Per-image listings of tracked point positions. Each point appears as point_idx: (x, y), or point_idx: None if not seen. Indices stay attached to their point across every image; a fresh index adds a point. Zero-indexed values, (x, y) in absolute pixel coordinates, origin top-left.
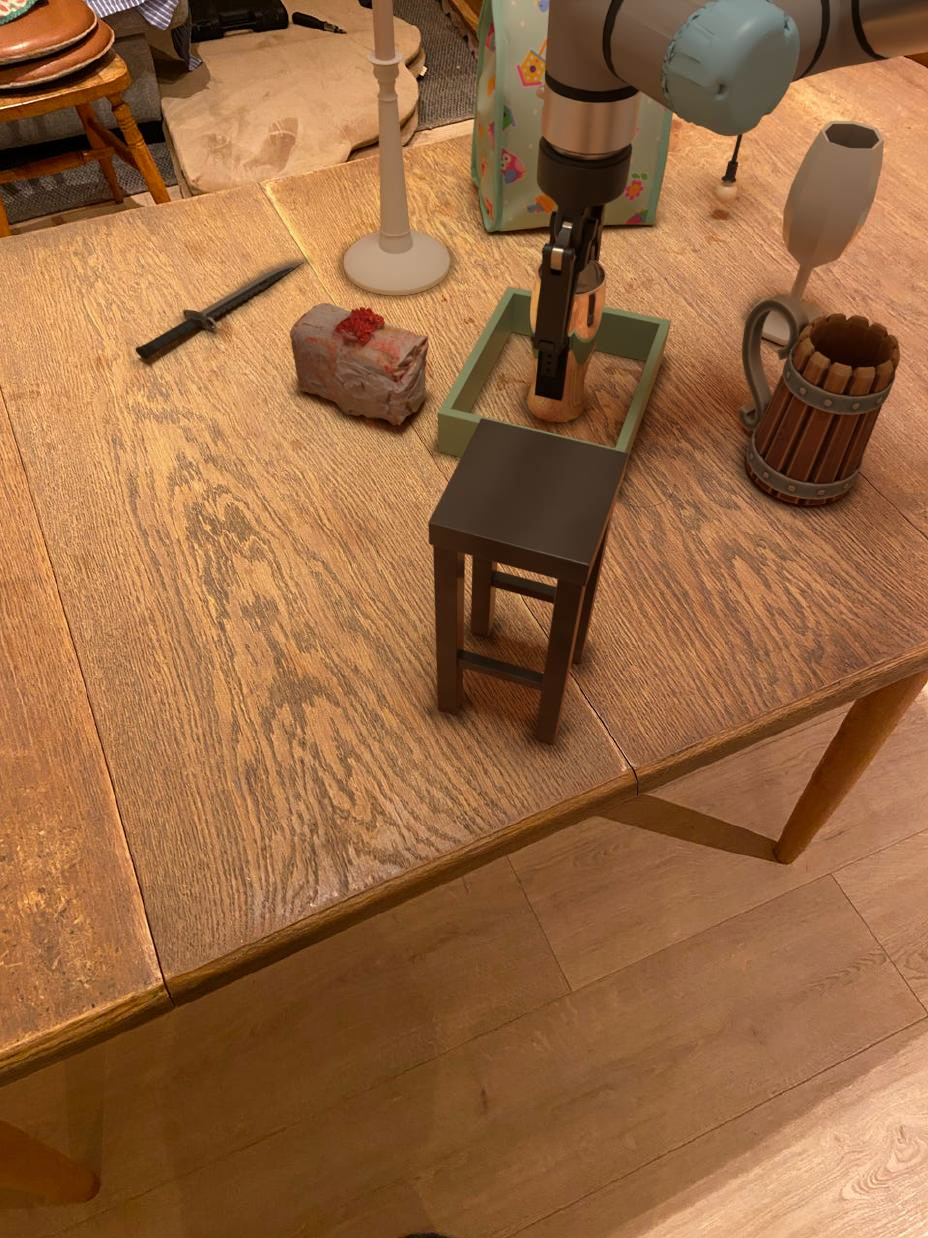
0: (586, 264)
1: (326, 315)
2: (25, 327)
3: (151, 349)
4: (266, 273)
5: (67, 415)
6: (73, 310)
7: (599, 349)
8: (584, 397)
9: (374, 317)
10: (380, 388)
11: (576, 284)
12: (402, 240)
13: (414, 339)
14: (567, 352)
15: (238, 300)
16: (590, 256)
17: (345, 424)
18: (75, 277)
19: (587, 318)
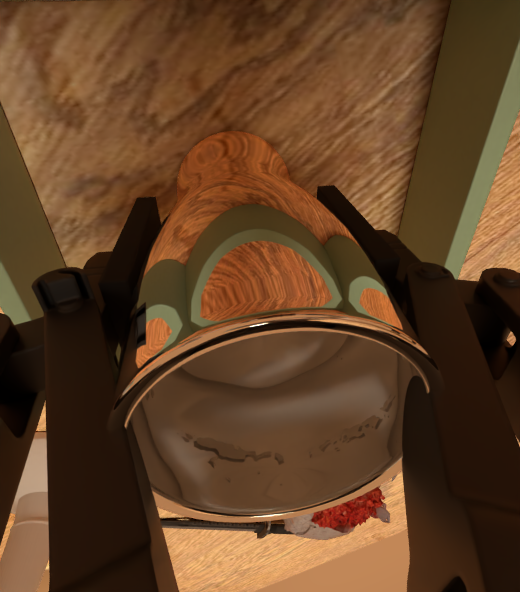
0: (504, 541)
1: (327, 528)
2: (309, 565)
3: None
4: (164, 527)
5: (393, 518)
6: (280, 562)
7: (22, 162)
8: (227, 140)
9: (338, 510)
10: None
11: (472, 435)
12: (46, 511)
13: None
14: (379, 243)
15: (223, 525)
16: (131, 453)
17: None
18: (243, 576)
19: (369, 261)
